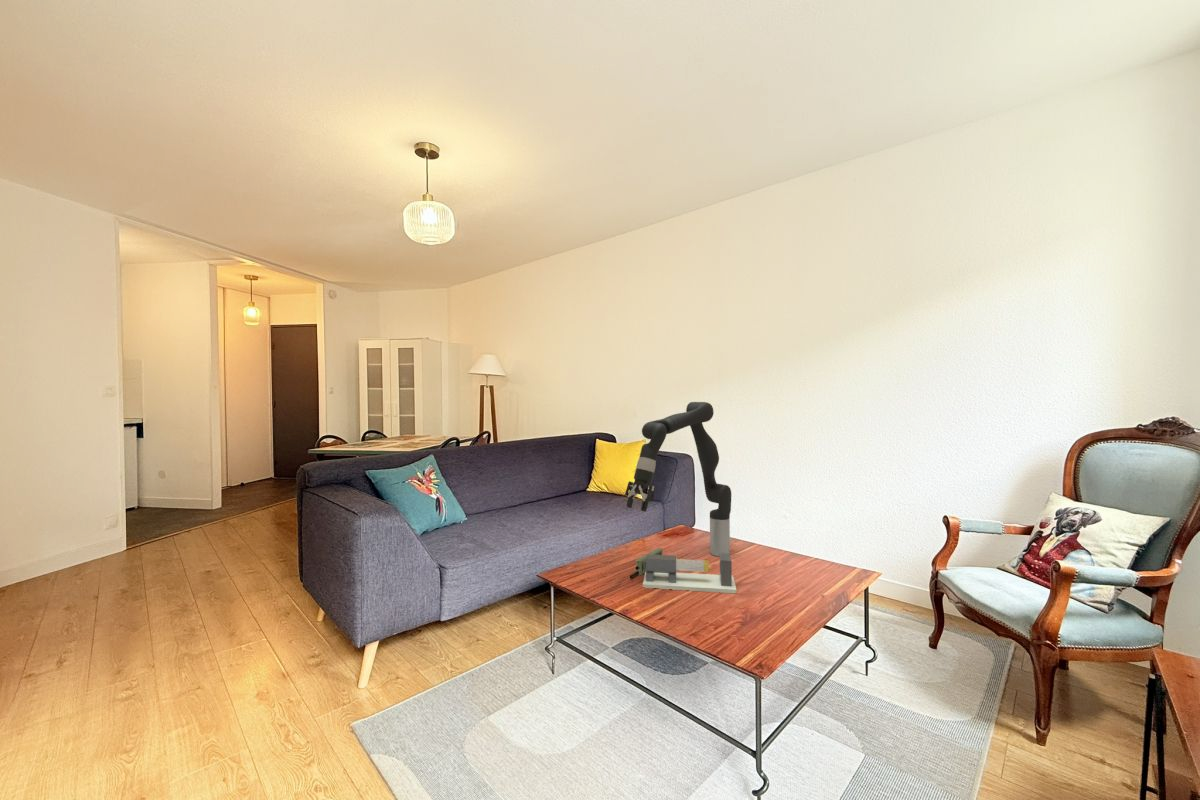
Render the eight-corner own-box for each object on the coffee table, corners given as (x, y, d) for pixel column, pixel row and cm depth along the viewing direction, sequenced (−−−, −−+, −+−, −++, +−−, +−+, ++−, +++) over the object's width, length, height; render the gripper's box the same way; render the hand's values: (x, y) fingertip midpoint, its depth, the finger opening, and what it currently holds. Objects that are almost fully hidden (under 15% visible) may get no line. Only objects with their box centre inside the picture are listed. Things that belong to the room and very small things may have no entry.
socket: (719, 577, 195) (719, 553, 195) (729, 578, 194) (729, 553, 194) (721, 585, 187) (720, 560, 187) (731, 586, 186) (731, 560, 186)
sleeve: (647, 573, 200) (647, 553, 200) (676, 575, 198) (676, 554, 198) (645, 581, 192) (645, 559, 192) (676, 583, 190) (675, 561, 190)
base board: (645, 574, 203) (645, 570, 203) (732, 579, 197) (732, 575, 197) (642, 587, 189) (642, 584, 189) (736, 593, 183) (736, 589, 183)
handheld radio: (664, 563, 217) (634, 580, 197) (657, 561, 219) (627, 579, 199) (663, 548, 217) (633, 564, 197) (657, 547, 219) (626, 563, 199)
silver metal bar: (649, 565, 197) (649, 557, 197) (708, 568, 193) (708, 560, 193) (648, 568, 194) (648, 560, 194) (709, 571, 190) (708, 563, 190)
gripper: (663, 473, 191) (654, 514, 187) (639, 470, 202) (630, 508, 199) (650, 469, 186) (641, 510, 183) (627, 465, 198) (617, 504, 194)
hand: (635, 509), depth 191 cm, fingers open, 8 cm apart
